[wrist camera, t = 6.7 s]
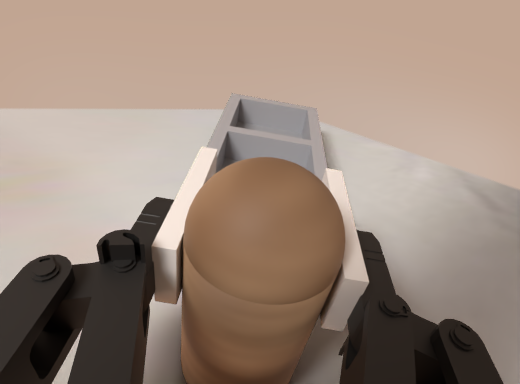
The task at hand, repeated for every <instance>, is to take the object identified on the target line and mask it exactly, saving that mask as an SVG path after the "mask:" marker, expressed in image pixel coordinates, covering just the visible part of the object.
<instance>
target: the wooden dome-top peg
mask: <svg viewBox="0 0 520 384" xmlns="http://www.w3.org/2000/svg"><path fill="white" fill-rule="evenodd" d="M344 250H345V227H344V222H343V217H342V214H341V211H340V209H339V206H338V204H337V202H336V200H335V198H334V197H333V195H332V193H331V192H330V190H329V189H328V188H327V186H326V185H325V184H324V183H323V182H322V181H321V180H320V179H319V178H318V177H317V176H316V175H314V174H313V173H312V172H310V171H309V170H307V169H305V168H304V167H302V166H300V165H298V164H296V163H293V162H291V161H288V160H284V159H279V158H273V157H257V158H250V159H245V160H241V161H238V162H235V163H233V164H231V165H228V166H226V167H225V168H223V169H222V170H220V171H219V172H217V173H215V174H214V175H213V176H212V177H211V178H210V179H209V180H208V181H207V182H206V183H205V184H204V185H203V186H202V187H201V189H200V190H199V191H198V193H197V194H196V196H195V198H194V199H193V201H192V203H191V205H190V207H189V210H188V214H187V217H186V220H185V226H184V235H183V278H182V330H181V365H182V371H183V374H184V377H185V380H186V382H187V384H288V383H289V381H290V379H291V377H292V375H293V373H294V370H295V368H296V366H297V364H298V361H299V359H300V357H301V355H302V352H303V350H304V348H305V346H306V344H307V341H308V339H309V337H310V335H311V332H312V330H313V328H314V326H315V324H316V321H317V319H318V317H319V315H320V312H321V310H322V308H323V306H324V303H325V301H326V299H327V297H328V295H329V292H330V290H331V288H332V286H333V283H334V281H335V279H336V277H337V274H338V272H339V270H340V267H341V264H342V260H343V257H344Z"/></svg>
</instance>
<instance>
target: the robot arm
mask: <svg viewBox="0 0 520 384" xmlns="http://www.w3.org/2000/svg"><path fill="white" fill-rule="evenodd" d="M216 161H217V149H213V148H208V147H201V148H200V150H199V152H198V154H197V156H196V158H195V160H194V162H193V164H192V166H191V168H190V170H189V172H188V174H187V176H186V178H185V180H184V182H183V184H182V186H181V188H180V190H179V192H178V194H177V196H176V198H175V200H171V199H166V198H160V197H156V198H154V199H153V200H151V201H150V202H149V203H147V204H146V206H145V207H144V209H143V211H142V212H141V215H139V217H138V219H137V221H136V222H135V224H134V225H133V227H132V228H131V230H117V231H113V232H111V233H108V234H106V235H105V236H104V237H102V238H101V239H100V240H99V242H98V244H97V245H96V246H97V251H98V256H99V260H100V261H99V262H95V263H88V264H77V265H71V262H70V261H69V260H68V259H67V258H66V257H64V256H61V255H46V256H42V257H39V258H37V259H35V260H33V261H31V262H29V263H28V264H27V265H26V266H25V267H23V268H22V270H21V271H20V272H19V273H18V274H17V275H16V276H15V278H14V279H13V280H12V281H11V282H10V283H9V285H8V286H7V287H6V288H5V289H4V290H3V292H2V293H1V294H0V384H52V382H53V380H54V378H55V377H56V375H57V373H58V371H59V369H60V368H61V366H62V364H63V362H64V360H65V359H66V357H67V355H68V353H69V351H70V349H71V348H72V346H73V344H74V342H75V340H76V339H77V337H78V335H79V333H80V331H81V330H82V333H81V336H80V340H79V344H78V347H77V351H76V355H75V358H74V362H73V365H72V369H71V373H70V376H69V380H68V384H143V375H144V365H145V355H146V345H147V336H148V326H149V316H150V306H149V304H150V302H151V299H152V297H153V294H155V301H158V302H164V303H171V304H177V301H178V298H179V295H180V292H181V289H182V278H183V235H184V226H185V220H186V217H187V214H188V210H189V207H190V205H191V203H192V201H193V199H194V198H195V196H196V194H197V193H198V191H199V190H200V189H201V187H202V186H203V185H204V184H205V183H206V182H207V181H208V180H209V179H210V178H211V177H212V176H213V175H214V174H215V173H216ZM322 182H323V183H324V184H325V185H326V186H327V188H328V189H329V190H330V192H331V193H332V195H333V197H334V198H335V200H336V202H337V204H338V206H339V209H340V211H341V214H342V217H343V222H344V227H345V250H344V257H343V260H342V264H341V267H340V270H339V272H338V274H337V277H336V279H335V281H334V283H333V286H332V288H331V290H330V292H329V295H328V297H327V299H326V301H325V303H324V306H323V308H322V310H321V312H320V317H321V328H324V329H330V330H336V331H343V330H344V328H345V326H346V324H347V323H348V329H349V335H348V337H347V339H346V341H345V342H344V344H343V346H342V348H341V349H340V352H339V354H338V355H341V356H342V354H343V353H344V354H343V361H342V369H341V376H340V383H339V384H503V382H502V380H501V378H500V376H499V374H498V372H497V370H496V368H495V366H494V364H493V362H492V359H491V357H490V355H489V353H488V351H487V349H486V347H485V345H484V343H483V342H482V340H481V339H480V337H479V336H478V334H477V333H476V332H475V331H473V330H472V329H471V328H470V327H469V326H467V325H466V324H464V323H462V322H460V321H457V320H454V319H445V320H443V321H441V322H440V323H439V325H437V324H435V323H433V322H430V321H428V320H426V319H424V318H421V317H419V316H417V315H415V314H413V313H412V312H411V310H410V308H409V306H408V305H407V303H406V302H405V301H404V300H403V299H402V298H401V297H400V296H398V295H396V293H395V290H394V286H393V283H392V280H391V277H390V274H389V271H388V268H387V265H386V263H385V258H384V255H382V253H383V252H382V249H381V246H380V243H379V241H378V240H377V239H376V238H375V236H374V235H373V234H372V233H370V232H364V231H358V230H356V227H355V223H354V219H353V215H352V211H351V207H350V203H349V199H348V195H347V191H346V187H345V182H344V178H343V174H342V171H339V170H334V169H328V168H326V169H325V173H324V176H323V179H322ZM82 328H83V329H82Z"/></svg>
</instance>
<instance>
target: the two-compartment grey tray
mask: <svg viewBox="0 0 520 384" xmlns="http://www.w3.org/2000/svg"><path fill="white" fill-rule="evenodd" d="M207 147H208V148H213V149H217V161H216V173H217V172H219V171H220V170H222V169H223V168H225V167H226V166H228V165H231V164H233V163H235V162H238V161H241V160H245V159H250V158H257V157H273V158H279V159H284V160H288V161H291V162H293V163H296V164H298V165H300V166H302V167H304V168H305V169H307V170H309V171H310V172H312V173H313V174H314V175H316V176H317V177H318V178H319V179H320V180H321V181H322V179H323V176H324V173H325V169H326V168H327V163H326V157H325V152H324V146H323V141H322V135H321V130H320V124H319V119H318V113H317V109H316V108H311V107H306V106H300V105H294V104H289V103H283V102H278V101H272V100H267V99H261V98H255V97H250V96H244V95H238V94H233V93H232V94H231V96H230V98H229V101H228V103H227V105H226V107H225V109H224V111H223V113H222V115H221V117H220V119H219V122H218V124H217V126H216V128H215V130H214V132H213V134H212V136H211V138H210V140H209V142H208V145H207Z"/></svg>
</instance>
